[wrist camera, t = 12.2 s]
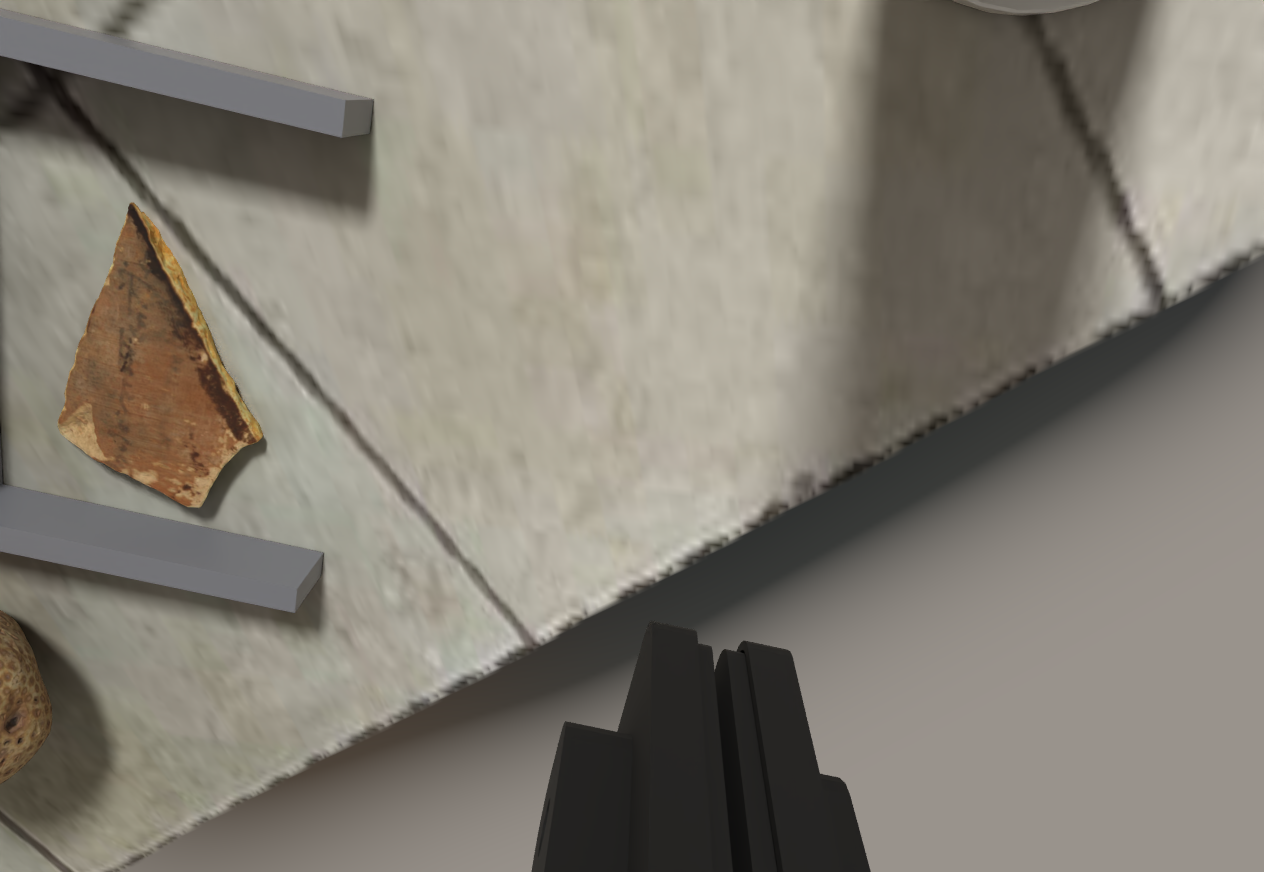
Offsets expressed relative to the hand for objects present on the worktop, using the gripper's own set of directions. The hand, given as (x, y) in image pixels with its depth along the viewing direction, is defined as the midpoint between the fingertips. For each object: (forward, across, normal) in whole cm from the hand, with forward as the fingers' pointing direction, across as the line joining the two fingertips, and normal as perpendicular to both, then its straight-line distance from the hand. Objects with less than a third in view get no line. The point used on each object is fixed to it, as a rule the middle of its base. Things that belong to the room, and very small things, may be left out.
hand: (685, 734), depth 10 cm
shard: (+26, +20, +8) cm, 34 cm away
